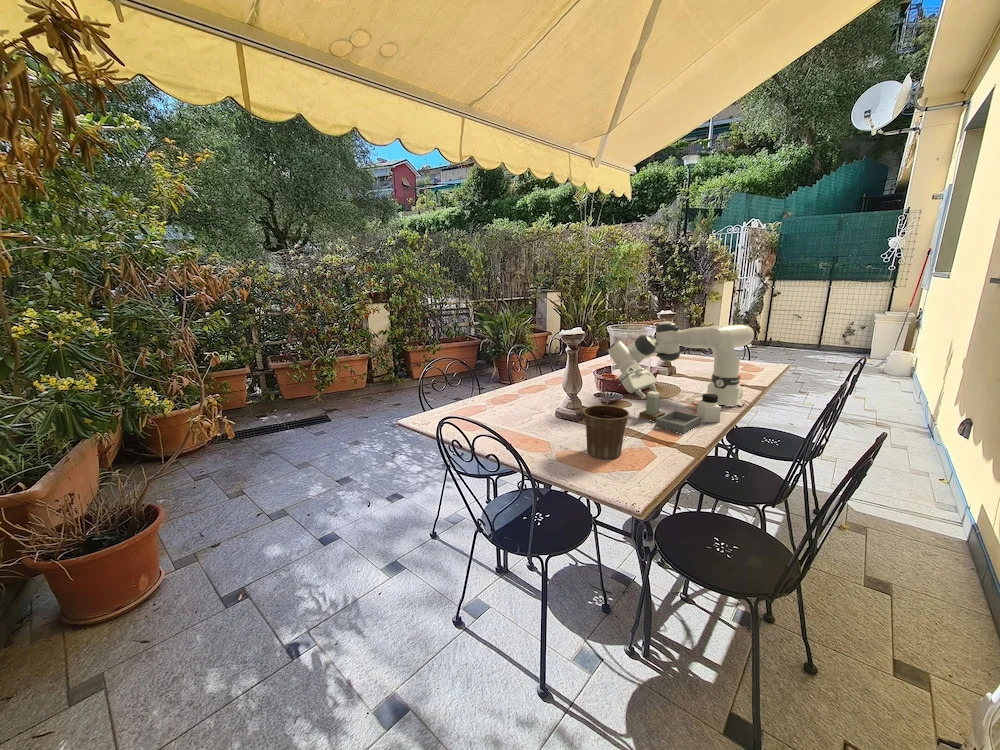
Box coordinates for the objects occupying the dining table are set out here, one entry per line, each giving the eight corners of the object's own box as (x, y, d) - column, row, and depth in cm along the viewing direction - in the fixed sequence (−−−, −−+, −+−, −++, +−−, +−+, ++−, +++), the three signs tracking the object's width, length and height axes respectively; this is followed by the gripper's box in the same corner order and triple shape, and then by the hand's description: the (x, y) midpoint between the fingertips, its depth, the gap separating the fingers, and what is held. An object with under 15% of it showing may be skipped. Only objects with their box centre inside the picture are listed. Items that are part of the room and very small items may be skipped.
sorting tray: (674, 418, 187) (674, 410, 186) (700, 425, 178) (701, 416, 178) (655, 426, 177) (656, 418, 176) (682, 434, 168) (683, 425, 168)
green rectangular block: (650, 415, 191) (651, 390, 188) (658, 418, 188) (660, 392, 185) (645, 417, 188) (647, 392, 186) (653, 420, 185) (655, 394, 183)
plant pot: (594, 440, 164) (595, 402, 160) (633, 450, 154) (636, 409, 150) (573, 454, 152) (574, 413, 148) (615, 466, 142) (617, 422, 138)
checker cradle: (648, 413, 194) (648, 407, 193) (664, 418, 188) (665, 412, 187) (639, 417, 189) (639, 411, 188) (655, 422, 183) (656, 416, 182)
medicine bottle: (719, 422, 181) (722, 396, 178) (703, 422, 181) (706, 396, 178) (711, 416, 188) (714, 391, 185) (696, 417, 188) (698, 391, 185)
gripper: (640, 371, 200) (657, 395, 195) (615, 379, 187) (633, 404, 183) (649, 364, 196) (667, 387, 191) (624, 371, 183) (643, 396, 178)
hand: (650, 396), depth 187 cm, fingers open, 8 cm apart
